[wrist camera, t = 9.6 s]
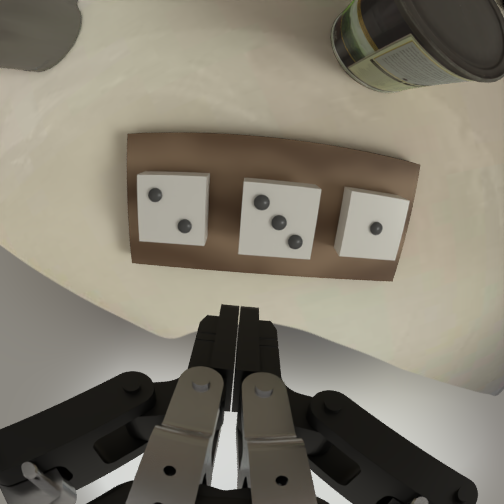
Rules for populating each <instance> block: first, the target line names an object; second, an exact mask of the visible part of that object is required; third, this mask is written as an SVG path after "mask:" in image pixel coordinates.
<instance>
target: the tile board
mask: <svg viewBox="0 0 504 504" xmlns="http://www.w3.org/2000/svg"><path fill="white" fill-rule="evenodd" d="M419 170H420V164H416V163H412V162H409V161H405V160H401V159H396V158H392V157H388V156H384V155H379V154H374V153H370V152H365V151H360V150H355V149H349V148H344V147H338V146H332V145H326V144H319V143H313V142H306V141H298V140H290V139H281V138H272V137H261V136H250V135H235V134H217V133H134V134H128V137H127V197H128V219H129V234H130V247H131V257H132V263H137V264H148V265H159V266H170V267H181V268H193V269H205V270H217V271H230V272H243V273H257V274H271V275H286V276H301V277H318V278H335V279H353V280H373V281H393V278H394V275H395V272H396V268H397V265H398V262H399V258H400V255H401V251H402V248H403V244H404V240H405V236H406V232H407V228H408V224H409V220H410V216H411V211H412V207H413V202H414V197H415V192H416V187H417V181H418V176H419ZM145 171H164V172H196V173H210V184H209V206H208V235H207V240H206V243H205V245H204V246H198V245H185V244H172V243H158V242H144V241H139V226H138V202H137V175H138V174H140V173H142V172H145ZM244 177H245V178H257V179H268V180H279V181H289V182H298V183H307V184H315V185H317V186H318V187H319V188H320V189H321V196H320V203H319V209H318V215H317V222H316V228H315V234H314V240H313V246H312V251H311V257H310V260H309V259H295V258H282V257H268V256H255V255H242V254H238V251H239V237H240V224H241V211H242V198H243V185H244ZM344 187H352V188H358V189H364V190H371V191H376V192H382V193H388V194H393V195H399V196H401V197H403V198H405V199H407V200H409V201H410V202H409V207H408V211H407V216H406V220H405V224H404V229H403V233H402V237H401V240H400V244H399V248H398V252H397V255H396V259H395V261H394V260H381V259H369V258H356V257H343V256H339V255H338V253H337V252H336V250H335V249H334V243H335V238H336V233H337V228H338V223H339V217H340V211H341V206H342V200H343V194H344Z"/></svg>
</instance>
